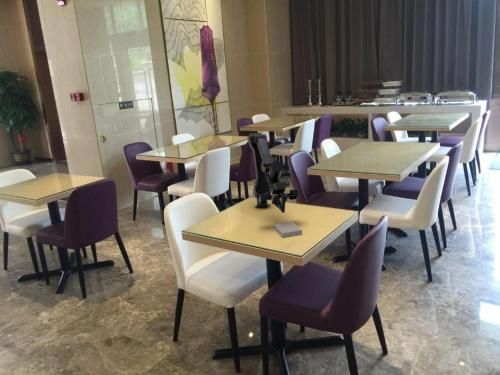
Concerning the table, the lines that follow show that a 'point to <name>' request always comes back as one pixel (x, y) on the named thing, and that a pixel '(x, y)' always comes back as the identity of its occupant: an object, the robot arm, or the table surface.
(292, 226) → the tile
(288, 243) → the table surface
